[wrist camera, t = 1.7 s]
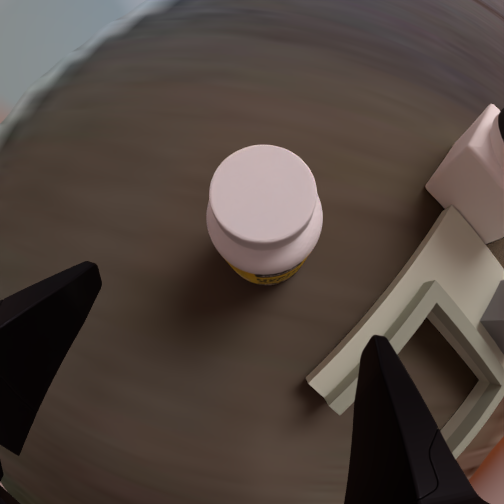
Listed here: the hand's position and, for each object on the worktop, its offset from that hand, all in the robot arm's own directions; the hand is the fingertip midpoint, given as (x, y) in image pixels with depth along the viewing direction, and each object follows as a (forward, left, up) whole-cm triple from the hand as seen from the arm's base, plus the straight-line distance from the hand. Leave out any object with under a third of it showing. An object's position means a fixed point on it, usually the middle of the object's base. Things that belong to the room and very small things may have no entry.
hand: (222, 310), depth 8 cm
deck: (+14, -5, -11) cm, 19 cm away
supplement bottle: (+1, +4, -11) cm, 12 cm away
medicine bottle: (+19, +7, -11) cm, 24 cm away
